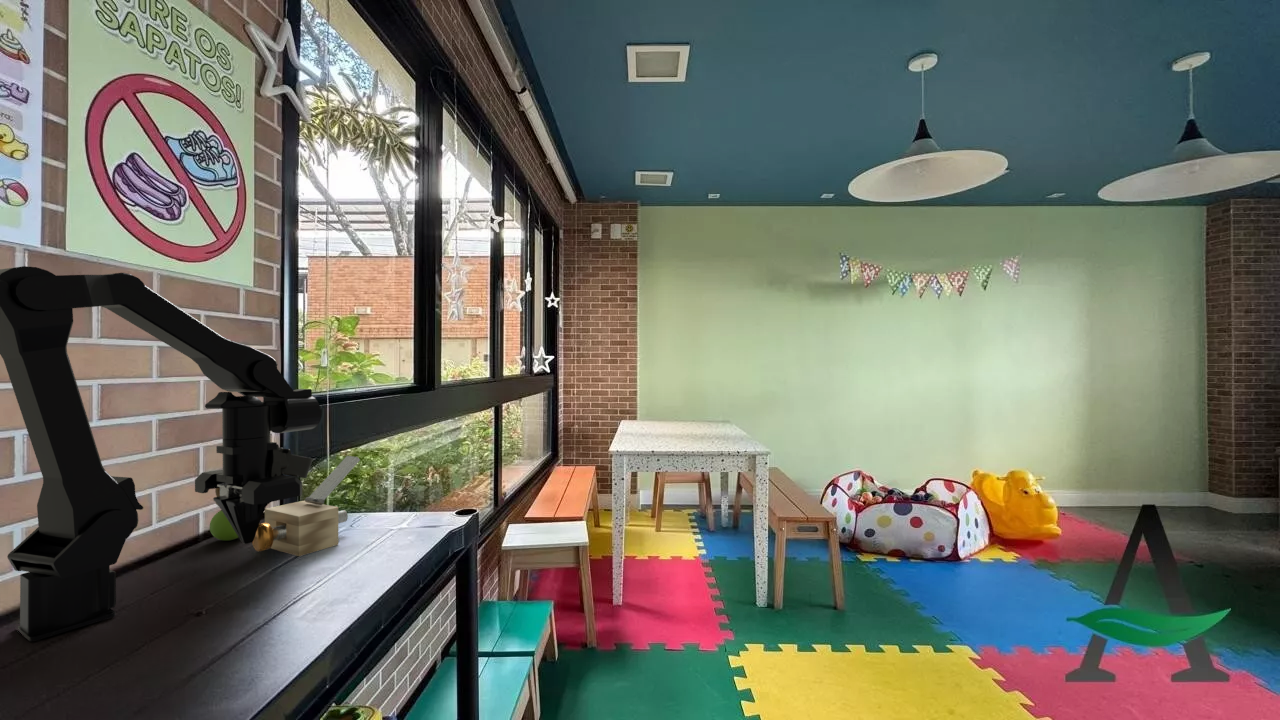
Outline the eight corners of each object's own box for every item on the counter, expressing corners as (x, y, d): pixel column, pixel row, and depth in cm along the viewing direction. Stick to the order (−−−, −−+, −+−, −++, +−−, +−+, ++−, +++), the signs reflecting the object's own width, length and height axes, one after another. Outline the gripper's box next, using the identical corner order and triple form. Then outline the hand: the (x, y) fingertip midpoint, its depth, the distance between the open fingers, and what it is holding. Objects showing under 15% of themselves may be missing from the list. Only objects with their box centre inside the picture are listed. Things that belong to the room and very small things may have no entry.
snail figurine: (239, 544, 85) (239, 470, 85) (200, 545, 85) (200, 471, 85) (264, 534, 90) (264, 464, 90) (227, 534, 90) (227, 465, 90)
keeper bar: (321, 506, 85) (317, 502, 84) (307, 503, 86) (303, 500, 86) (362, 460, 91) (358, 456, 90) (348, 458, 93) (345, 455, 92)
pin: (264, 553, 77) (264, 526, 77) (251, 549, 79) (251, 522, 79) (351, 529, 89) (351, 505, 89) (337, 526, 91) (337, 503, 91)
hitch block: (298, 556, 79) (298, 516, 79) (264, 546, 83) (264, 508, 84) (338, 544, 84) (338, 507, 84) (304, 535, 89) (304, 500, 89)
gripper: (337, 433, 80) (338, 536, 80) (273, 428, 89) (274, 520, 89) (255, 443, 70) (256, 560, 70) (193, 437, 79) (193, 539, 79)
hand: (247, 542), depth 77 cm, fingers closed, pressing on pin
